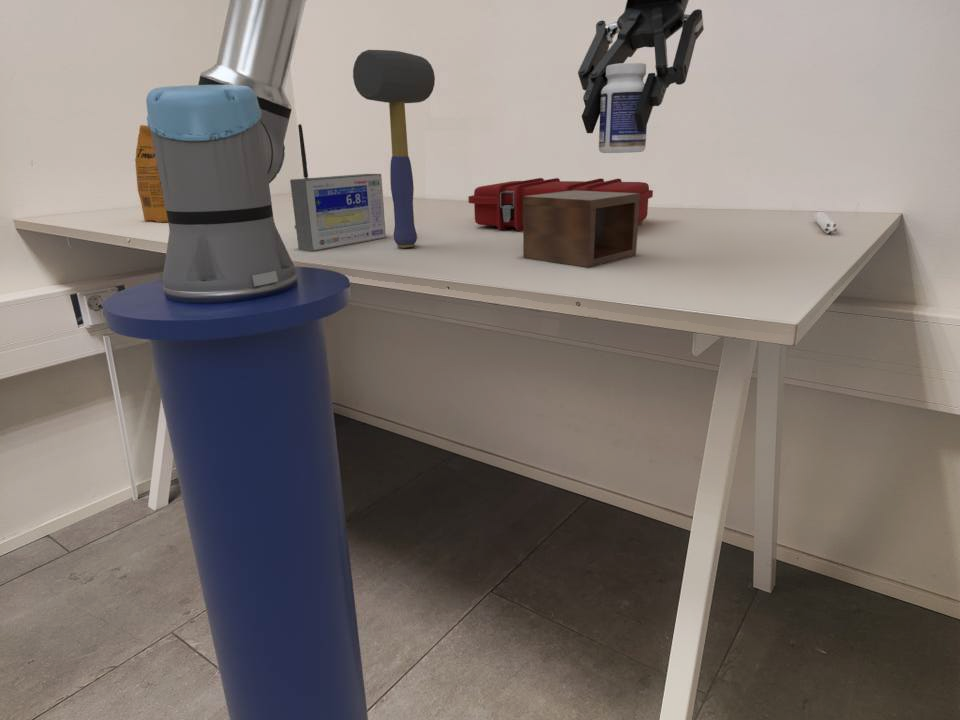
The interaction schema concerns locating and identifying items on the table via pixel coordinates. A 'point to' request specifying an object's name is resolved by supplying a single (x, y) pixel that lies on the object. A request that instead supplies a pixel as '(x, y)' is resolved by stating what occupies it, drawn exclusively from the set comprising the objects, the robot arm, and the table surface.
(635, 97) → the pill bottle
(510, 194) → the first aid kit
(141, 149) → the coffee package
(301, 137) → the electronic device
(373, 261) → the table surface
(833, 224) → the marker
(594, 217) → the shelf
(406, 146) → the rubber mallet
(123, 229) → the table surface
